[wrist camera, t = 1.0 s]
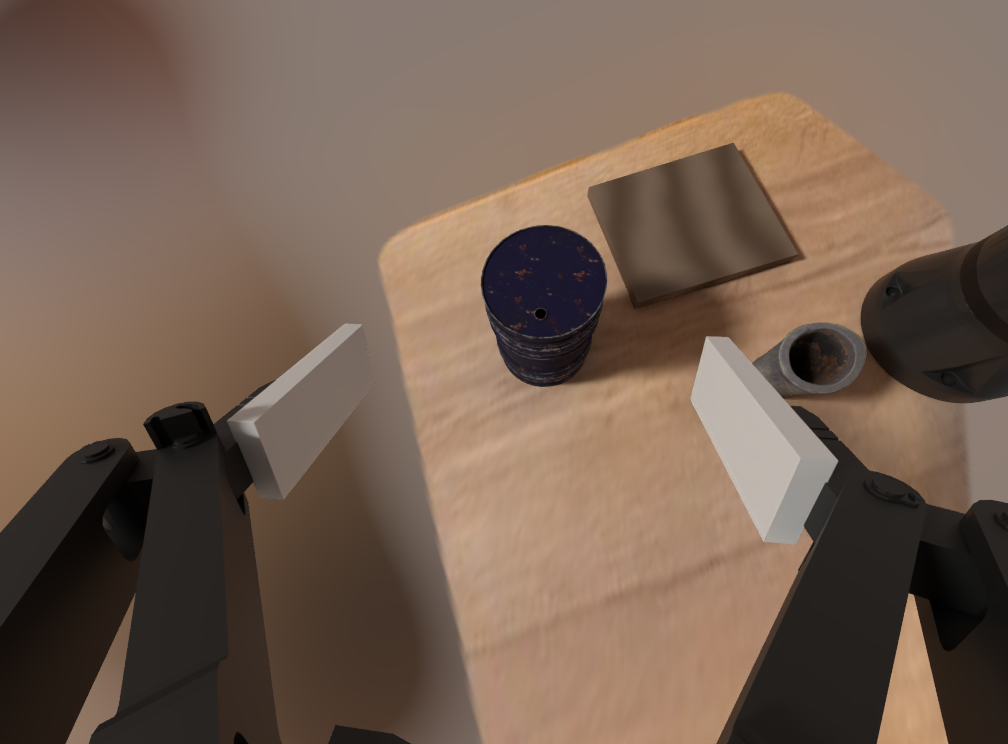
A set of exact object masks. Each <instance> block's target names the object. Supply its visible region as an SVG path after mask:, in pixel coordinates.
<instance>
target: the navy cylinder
mask: <svg viewBox="0 0 1008 744" xmlns="http://www.w3.org/2000/svg"><path fill="white" fill-rule="evenodd" d="M606 288H607V272H606V268H605V264H604V262H603V259H602V257H601V255H600V254H599V252H598V251H597V249H596V248H595V247H594V246H593V244H592V243H591V242H590V241H588V240H587V239H586V238H585V237H583V236H582V235H580V234H578V233H577V232H575V231H572V230H570V229H567V228H564V227H559V226H552V225H538V226H532V227H527V228H524V229H521V230H519V231H517V232H515V233H513V234H511V235H509V236H508V237H506V238H505V239H503V240H502V241H501V242H500V243H499V244H498V245H497V246H496V247H495V248H494V249H493V250H492V252H491V253H490V255H489V256H488V258H487V260H486V262H485V265H484V267H483V271H482V276H481V290H482V296H483V299H484V302H485V307H486V312H487V315H488V318H489V321H490V324H491V327H492V329H493V331H494V333H495V335H496V338H497V345H498V348H499V351H500V354H501V356H502V358H503V360H504V362H505V364H506V366H507V368H508V369H509V370H510V372H511V373H512V374H513V375H514V376H515V377H517V378H518V379H519V380H521V381H523V382H525V383H527V384H530V385H533V386H539V387H549V386H555V385H558V384H561V383H563V382H565V381H567V380H569V379H570V378H571V377H573V376H574V375H575V374H576V373H577V372H578V371H579V369H580V368H581V366H582V365H583V363H584V360H585V358H586V356H587V354H588V351H589V348H590V345H591V340H592V333H593V332H594V330H595V328H596V326H597V323H598V320H599V316H600V313H601V310H602V306H603V299H604V296H605V293H606Z"/></svg>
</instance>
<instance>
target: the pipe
mask: <svg viewBox="0 0 1008 744" xmlns="http://www.w3.org/2000/svg"><path fill="white" fill-rule="evenodd" d="M866 357H867V352H866V345H865V343H864V342H863V341H862V339H861V338H860V337H859V336H858V335H857V334H856V333H854V332H853V331H851V330H849V329H848V328H846V327H843V326H840V325H838V324H831V323H812V324H806V325H802V326H800V327H798V328H796V329H794V330H793V331H791V332H790V333H788V335H787V336H786V337H785V338H784V339H783V340H782V341H781V342H780V343H779V344H777V345H776V346H775V347H773V348H772V349H771V350H769V351H768V352H767V353H766V354H764V355H763V356H761V357H759V358H758V359H757V360H755V361H754V362H753V363H752V364H753V365H754V366H755V367H756V369H757V370H758V371H759V372H760V373H761V374H762V375H763V376H764V378H765V379H766V380H767V381H768V382H769V383H770V384H771V385H772V387H773V388H774V389H775V390H776V391H777V392H778V393H779V394H780V396H781V397H788V396H795V395H805V394H823V393H832V392H836V391H838V390H841V389H843V388H845V387H847V386H849V385H850V384H851V383H852V382H853V381H854V380H855V379H856V378H857V377H858V376H859V375H860V373H861V371H862V369H863V366H864V364H865V361H866Z"/></svg>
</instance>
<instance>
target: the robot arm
mask: <svg viewBox="0 0 1008 744" xmlns="http://www.w3.org/2000/svg"><path fill="white" fill-rule="evenodd" d="M861 327H862V332H863V335H864V338H865V341H866V343H867V345H868V348H869V349H870V351H871V353H872V354H873V356H874V357H875V359H876V360H877V361H878V363H879V364H880V365H881V366H882V367H883V368H884V369H885V370H886V371H887V372H888V373H889V374H890V375H891V376H892V377H894V378H895V379H896V380H898V381H899V382H900V383H902V384H903V385H905V386H907V387H908V388H910V389H912V390H914V391H916V392H918V393H920V394H923V395H925V396H928V397H931V398H934V399H938V400H942V401H947V402H955V403H974V402H981V401H986V400H991V399H996V398H1001V397H1005V396H1008V226H1006V227H1004V228H1002V229H1000V230H999V231H997V232H995V233H994V234H992V235H990V236H988V237H987V238H985V239H983V240H981V241H979V242H976V243H972V244H969V245H965V246H961V247H957V248H953V249H950V250H946V251H942V252H938V253H934V254H931V255H927V256H923V257H919V258H916V259H914V260H911V261H909V262H907V263H905V264H903V265H901V266H899V267H898V268H896V269H894V270H893V271H891V272H890V273H888V274H886V275H885V276H883V277H882V278H880V279H879V280H878V281H877V282H876V283H875V284H874V285H873V286H872V287H871V289H870V290H869V291H868V293H867V295H866V297H865V299H864V302H863V305H862V310H861ZM374 384H375V383H374V378H373V373H372V368H371V363H370V357H369V352H368V347H367V343H366V337H365V332H364V327H363V324H344V325H343V326H342V327H340V328H339V329H338V330H337V331H335V332H334V333H333V334H332V335H330V336H329V337H328V338H327V339H326V340H325V341H323V342H322V343H321V344H320V345H318V346H317V347H316V348H315V349H314V350H312V351H311V352H310V353H309V354H307V355H306V356H305V357H304V358H303V359H301V360H300V361H299V362H298V363H296V364H295V365H294V366H293V367H292V368H291V369H289V370H288V371H287V372H285V373H284V374H283V375H282V376H281V377H279V378H278V379H277V380H274V381H272V382H270V383H268V384H266V385H264V386H262V387H260V388H258V389H257V390H256V391H255V392H253V393H252V394H251V395H250V396H249V398H246V399H245V400H243V401H242V402H241V403H240V405H239V406H236V407H235V408H233V409H232V410H231V411H230V412H228V413H227V414H226V415H225V416H223V417H222V418H221V419H220V420H218V421H217V422H216V423H215V424H213V422H212V420H211V419H210V416H209V414H208V411H207V409H206V407H205V405H204V404H203V403H200V402H184V403H179V404H175V405H172V406H169V407H166V408H164V409H162V410H159V411H158V412H155V413H154V414H153V415H151V416H150V417H148V418H147V419H146V421H145V422H144V424H143V425H144V427H145V428H146V430H147V432H148V434H149V436H150V437H151V439H152V441H153V443H154V445H155V446H156V448H157V449H154V450H147V451H140V452H135V451H134V449H133V447H132V446H131V444H130V442H129V441H128V440H127V439H123V438H113V439H107V440H103V441H97V442H94V443H92V444H89V445H86V446H84V447H83V448H82V449H80V450H78V451H76V452H75V453H73V454H72V455H70V456H69V457H68V458H67V459H66V460H65V461H64V462H63V463H62V464H61V465H60V466H59V467H58V469H57V470H56V471H55V472H54V473H53V474H52V475H51V476H50V478H49V479H48V480H47V481H46V482H45V483H44V484H43V485H42V487H41V488H40V489H39V490H38V491H37V492H36V493H35V494H34V495H33V497H32V498H31V499H30V500H29V501H28V502H27V503H26V505H25V506H24V507H23V508H22V509H21V510H20V511H19V512H18V513H17V515H16V516H15V517H14V518H13V519H12V520H11V521H10V523H9V524H8V525H7V526H6V527H5V528H4V529H3V530H2V532H1V533H0V744H65V743H66V741H67V739H68V737H69V735H70V733H71V731H72V728H73V726H74V724H75V722H76V720H77V718H78V716H79V713H80V711H81V709H82V707H83V705H84V703H85V700H86V698H87V696H88V694H89V692H90V689H91V687H92V685H93V683H94V681H95V678H96V677H97V675H98V672H99V670H100V668H101V666H102V664H103V662H104V659H105V657H106V655H107V653H108V651H109V649H110V646H111V644H112V642H113V640H114V638H115V636H116V633H117V631H118V629H119V627H120V625H121V623H122V621H123V618H124V616H125V614H126V612H127V610H128V608H129V606H130V603H131V601H132V599H133V597H134V594H135V593H136V595H135V602H134V609H133V616H132V622H131V629H130V635H129V642H128V648H127V655H126V662H125V668H124V675H123V683H122V689H121V695H120V701H119V706H118V710H117V714H116V715H115V717H113V718H111V719H109V720H107V721H105V722H104V723H102V724H100V725H99V726H98V727H97V728H96V730H95V731H94V733H93V734H92V736H91V739H90V742H89V744H282V743H281V740H280V736H279V731H278V726H277V719H276V711H275V703H274V696H273V689H272V681H271V673H270V666H269V658H268V650H267V642H266V634H265V627H264V619H263V612H262V604H261V596H260V589H259V582H258V573H257V566H256V559H255V551H254V543H253V535H252V528H251V520H250V513H249V505H248V500H247V498H246V495H245V493H244V492H245V490H246V489H247V488H248V487H249V486H250V485H251V484H252V483H254V486H255V488H256V490H257V493H258V495H259V497H262V498H274V499H284V498H285V497H286V496H287V495H288V493H289V492H290V491H291V490H292V488H293V487H294V486H295V485H296V483H297V482H298V481H299V479H300V478H301V477H302V476H303V474H304V473H305V472H306V470H307V469H308V468H309V467H310V465H311V464H312V463H313V462H314V460H315V459H316V458H317V456H318V455H319V454H320V453H321V451H322V450H323V449H324V448H325V446H326V445H327V444H328V442H329V441H330V440H331V439H332V437H333V436H334V435H335V433H336V432H337V431H338V429H339V428H340V427H341V426H342V425H343V423H344V422H345V421H346V419H347V418H348V417H349V415H350V414H351V413H352V412H353V410H354V409H355V408H356V407H357V405H358V404H359V403H360V402H361V400H362V399H363V398H364V396H365V395H366V394H367V393H368V391H369V390H370V389H371V388H372V386H373V385H374ZM690 400H691V402H692V404H693V406H694V408H695V410H696V412H697V414H698V416H699V418H700V420H701V421H702V423H703V425H704V427H705V429H706V431H707V433H708V435H709V437H710V439H711V441H712V443H713V445H714V447H715V449H716V450H717V452H718V454H719V456H720V458H721V460H722V462H723V464H724V466H725V468H726V470H727V472H728V474H729V476H730V478H731V480H732V481H733V483H734V485H735V487H736V489H737V491H738V493H739V495H740V497H741V499H742V501H743V503H744V505H745V507H746V509H747V510H748V512H749V514H750V516H751V518H752V520H753V522H754V524H755V526H756V528H757V530H758V532H759V534H760V536H761V538H762V539H763V541H764V542H774V543H786V544H796V543H797V541H798V539H799V537H800V535H801V533H802V531H803V529H804V527H805V529H806V530H807V532H808V534H809V535H810V537H811V538H812V540H813V541H814V542H813V543H812V545H811V547H810V549H809V551H808V553H807V555H806V556H805V558H804V560H803V562H802V564H801V566H800V568H799V569H798V571H799V572H798V574H797V576H796V578H795V580H794V582H793V584H792V586H791V589H790V591H789V593H788V595H787V597H786V599H785V601H784V603H783V605H782V607H781V610H780V612H779V614H778V616H777V618H776V620H775V622H774V624H773V626H772V628H771V630H770V633H769V635H768V637H767V639H766V641H765V643H764V645H763V647H762V649H761V651H760V654H759V656H758V658H757V660H756V662H755V664H754V666H753V668H752V670H751V672H750V674H749V677H748V679H747V681H746V683H745V685H744V687H743V689H742V691H741V693H740V695H739V697H738V700H737V702H736V704H735V706H734V708H733V710H732V712H731V714H730V716H729V718H728V721H727V723H726V725H725V727H724V729H723V731H722V733H721V735H720V737H719V739H718V741H717V744H877V739H878V735H879V730H880V725H881V721H882V716H883V711H884V706H885V702H886V697H887V692H888V688H889V683H890V678H891V673H892V669H893V664H894V659H895V655H896V650H897V645H898V640H899V636H900V631H901V626H902V622H903V617H904V612H905V607H906V603H907V598H908V593H910V594H913V595H914V597H915V601H916V606H917V610H918V614H919V619H920V623H921V627H922V632H923V636H924V640H925V645H926V649H927V653H928V658H929V662H930V666H931V671H932V675H933V679H934V683H935V688H936V692H937V696H938V701H939V705H940V709H941V714H942V718H943V722H944V727H945V731H946V735H947V740H948V744H1008V503H1004V502H999V501H994V500H979V501H978V502H976V503H974V504H973V505H972V506H971V508H970V509H969V510H968V512H967V513H966V514H963V513H959V512H955V511H951V510H948V509H944V508H940V507H936V506H932V505H928V504H926V503H925V500H924V499H923V498H922V497H921V495H920V494H919V493H918V492H917V491H916V490H914V489H913V488H911V487H910V486H908V485H907V484H906V483H904V482H902V481H900V480H898V479H895V478H893V477H891V476H888V475H885V474H882V473H879V472H874V471H869V470H868V469H867V468H866V467H865V466H864V465H863V464H862V463H861V461H860V460H859V459H858V458H857V457H856V456H855V455H854V454H853V453H852V452H851V451H850V450H849V449H848V448H847V447H846V446H845V445H844V444H843V443H842V442H841V441H838V437H837V436H836V435H835V434H834V433H833V432H832V431H829V428H828V427H827V426H826V425H825V424H824V423H823V422H822V421H821V420H820V419H819V418H818V417H817V416H816V415H814V414H812V413H811V412H809V411H807V410H806V409H804V408H802V407H801V406H789V405H788V403H787V402H786V401H785V400H784V399H783V398H782V397H781V396H780V394H779V393H778V392H777V391H776V390H775V389H774V388H773V387H772V385H771V384H770V383H769V382H768V381H767V380H766V379H765V378H764V376H763V375H762V374H761V373H760V372H759V371H758V370H757V369H756V367H755V366H754V365H753V364H752V363H751V362H750V361H749V360H748V358H747V357H746V356H745V355H744V354H743V353H742V352H741V351H740V349H739V348H738V347H737V346H736V345H735V344H734V343H733V342H732V340H731V339H730V338H729V337H713V336H706V339H705V343H704V347H703V351H702V355H701V359H700V363H699V367H698V371H697V375H696V379H695V383H694V387H693V391H692V395H691V399H690ZM328 744H410V743H409V742H407V741H405V740H403V739H401V738H399V737H398V736H396V735H394V734H390V733H384V732H376V731H370V730H364V729H357V728H351V727H344V726H338V725H336V726H335V728H334V731H333V733H332V736H331V738H330V741H329V743H328Z"/></svg>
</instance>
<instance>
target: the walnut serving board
mask: <svg viewBox="0 0 1008 744" xmlns="http://www.w3.org/2000/svg"><path fill="white" fill-rule="evenodd" d="M588 198H589V200H590V203H591V205H592V208H593V210H594V212H595V215H596V217H597V219H598V222H599V224H600V227H601V229H602V231H603V234H604V236H605V238H606V241H607V243H608V246H609V248H610V250H611V253H612V255H613V257H614V260H615V262H616V265H617V267H618V269H619V272H620V274H621V276H622V279H623V281H624V284H625V286H626V288H627V291H628V293H629V295H630V298H631V300H632V303H633V305H634V307H635V308H639V307H642V306H645V305H649V304H652V303H655V302H659V301H662V300H665V299H668V298H672V297H675V296H678V295H682V294H685V293H688V292H692V291H695V290H698V289H701V288H705V287H708V286H711V285H715V284H718V283H721V282H725V281H728V280H731V279H734V278H738V277H741V276H744V275H748V274H751V273H754V272H758V271H761V270H764V269H767V268H771V267H774V266H777V265H781V264H784V263H787V262H790V261H791V260H793V259H794V258H795V257H796V256H797V255H798V253H797V251H796V249H795V247H794V246H793V244H792V242H791V241H790V239H789V237H788V235H787V234H786V232H785V230H784V228H783V227H782V225H781V223H780V222H779V220H778V218H777V216H776V215H775V213H774V211H773V210H772V208H771V206H770V204H769V203H768V201H767V199H766V198H765V196H764V194H763V192H762V191H761V189H760V187H759V186H758V184H757V182H756V180H755V179H754V177H753V175H752V174H751V172H750V170H749V168H748V167H747V165H746V163H745V162H744V160H743V158H742V156H741V155H740V153H739V151H738V149H737V148H736V146H735V144H734V143H731V144H728V145H724V146H721V147H718V148H715V149H711V150H708V151H705V152H702V153H698V154H695V155H692V156H689V157H686V158H682V159H679V160H676V161H673V162H669V163H666V164H663V165H660V166H656V167H653V168H650V169H647V170H643V171H640V172H637V173H634V174H630V175H627V176H624V177H621V178H617V179H614V180H611V181H608V182H605V183H601V184H598V185H595V186H592V187H589V190H588Z"/></svg>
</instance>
